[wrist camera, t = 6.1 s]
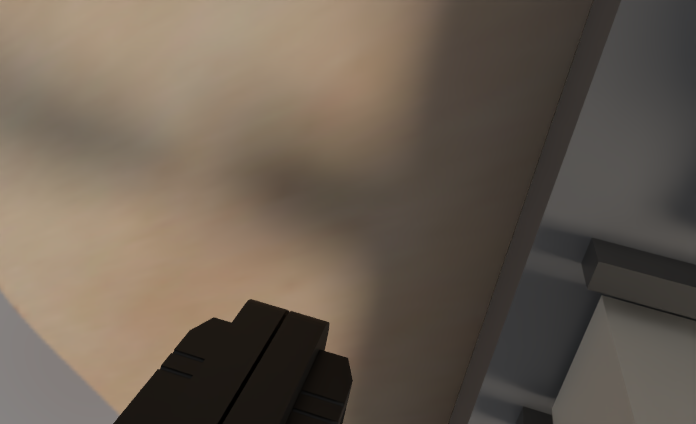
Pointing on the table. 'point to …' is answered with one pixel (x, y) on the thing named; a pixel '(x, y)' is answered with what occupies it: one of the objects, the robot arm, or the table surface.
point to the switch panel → (596, 210)
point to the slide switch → (631, 369)
